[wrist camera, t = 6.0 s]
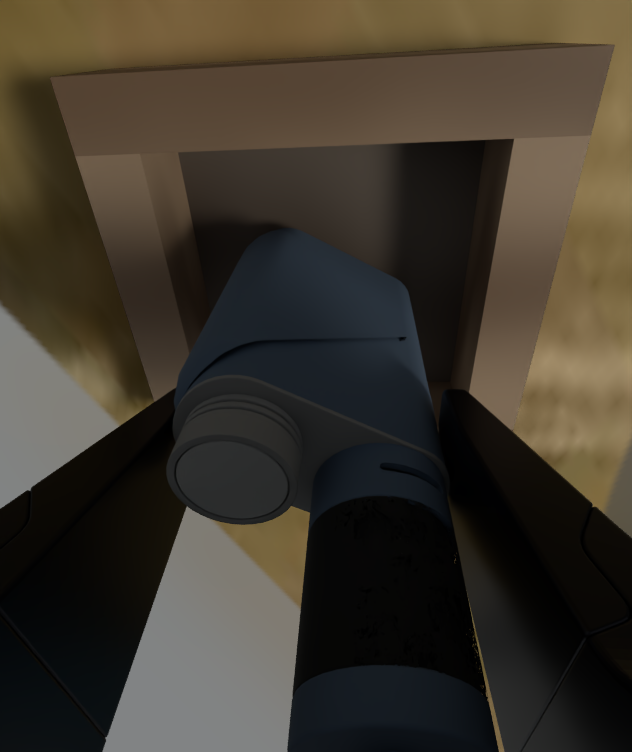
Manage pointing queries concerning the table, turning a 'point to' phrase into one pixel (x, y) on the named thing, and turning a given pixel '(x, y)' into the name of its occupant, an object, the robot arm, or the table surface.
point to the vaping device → (338, 492)
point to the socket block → (346, 188)
